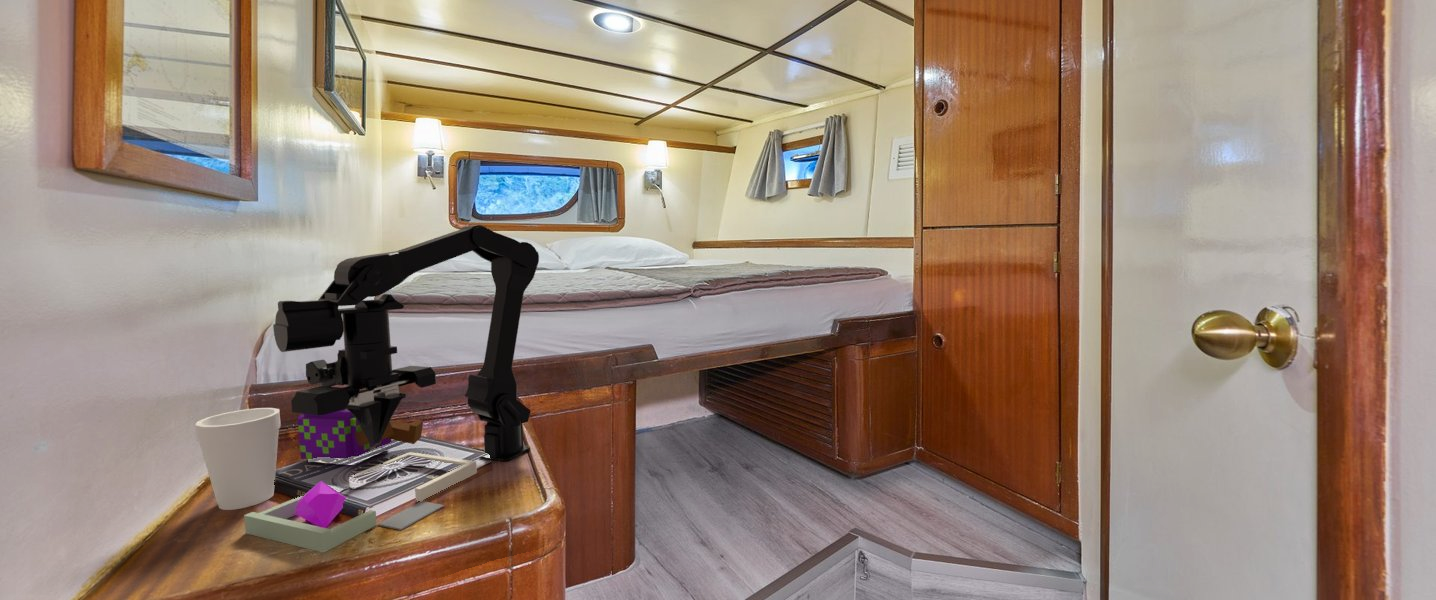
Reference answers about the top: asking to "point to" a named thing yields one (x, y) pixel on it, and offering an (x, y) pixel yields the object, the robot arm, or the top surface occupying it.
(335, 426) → the toy
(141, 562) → the top surface
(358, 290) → the robot arm
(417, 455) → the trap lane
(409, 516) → the mat
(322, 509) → the crystal
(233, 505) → the foam cup
